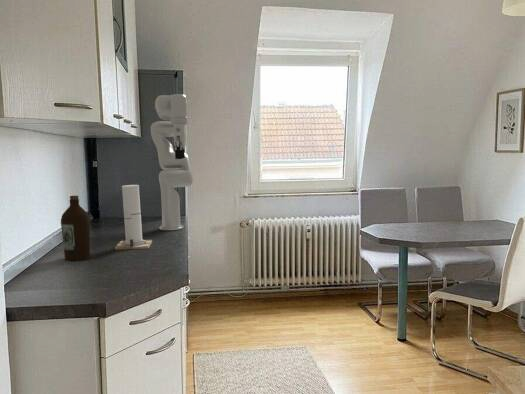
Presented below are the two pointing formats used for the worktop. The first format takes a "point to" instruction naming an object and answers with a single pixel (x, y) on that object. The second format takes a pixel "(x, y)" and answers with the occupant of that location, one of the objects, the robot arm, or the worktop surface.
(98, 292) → the worktop surface
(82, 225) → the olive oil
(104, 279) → the worktop surface
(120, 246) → the locking base
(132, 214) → the cylindrical container
